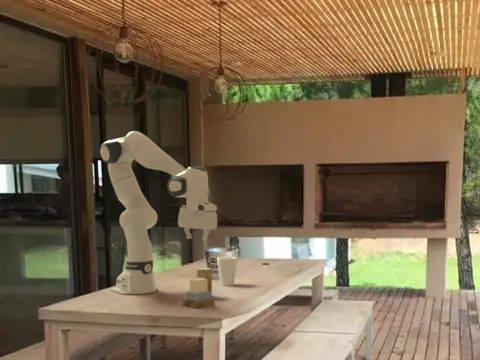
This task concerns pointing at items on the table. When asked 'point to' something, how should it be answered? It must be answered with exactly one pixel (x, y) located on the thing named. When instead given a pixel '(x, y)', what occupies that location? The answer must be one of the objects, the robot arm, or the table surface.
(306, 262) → the table surface
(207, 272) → the skincare box
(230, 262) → the foam cup
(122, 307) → the table surface
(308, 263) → the table surface
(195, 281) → the cream brick
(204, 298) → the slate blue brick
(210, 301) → the walnut base brick
